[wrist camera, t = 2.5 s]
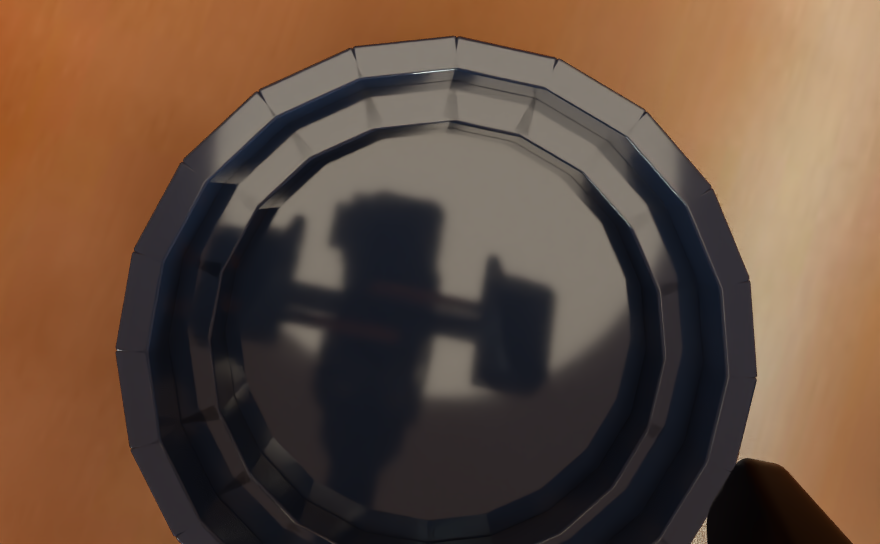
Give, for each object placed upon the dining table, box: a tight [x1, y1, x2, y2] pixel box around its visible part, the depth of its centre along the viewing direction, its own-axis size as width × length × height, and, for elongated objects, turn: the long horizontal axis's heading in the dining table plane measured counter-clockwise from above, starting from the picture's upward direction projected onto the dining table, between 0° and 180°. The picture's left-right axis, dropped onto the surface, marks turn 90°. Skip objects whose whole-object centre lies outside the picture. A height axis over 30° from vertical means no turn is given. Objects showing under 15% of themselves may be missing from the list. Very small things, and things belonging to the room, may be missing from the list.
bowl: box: [116, 36, 757, 544], centre depth 22 cm, size 16×16×4 cm
